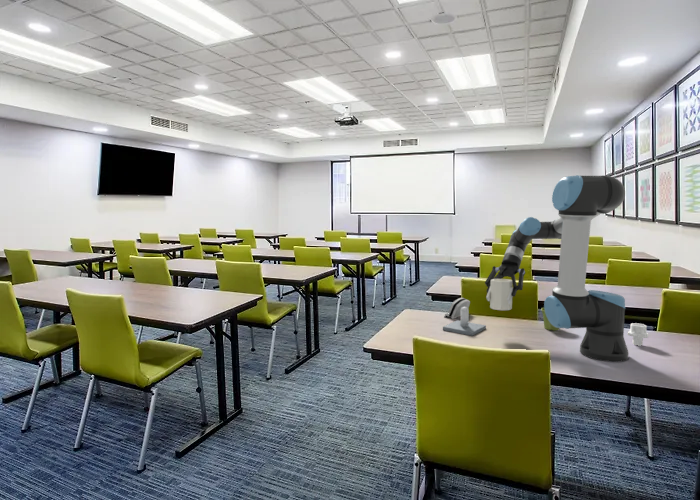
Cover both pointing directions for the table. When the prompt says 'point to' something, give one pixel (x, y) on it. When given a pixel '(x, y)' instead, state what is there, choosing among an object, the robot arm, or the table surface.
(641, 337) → the white figurine planter
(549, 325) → the plant pot
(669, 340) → the table surface
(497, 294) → the white faceted cup
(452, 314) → the grey curved piece
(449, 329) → the post base
